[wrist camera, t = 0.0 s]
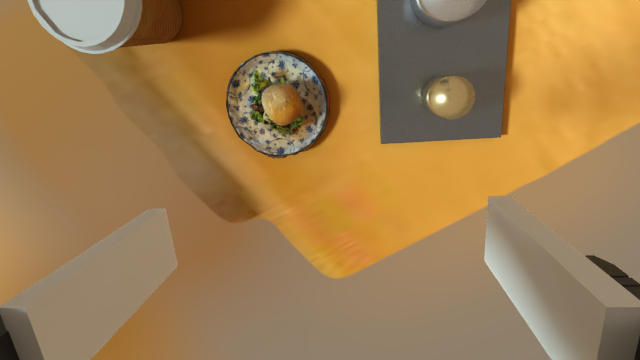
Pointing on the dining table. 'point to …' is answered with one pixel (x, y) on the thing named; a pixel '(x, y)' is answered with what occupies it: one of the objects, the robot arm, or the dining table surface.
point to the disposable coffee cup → (109, 22)
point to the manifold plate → (441, 69)
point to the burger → (278, 103)
